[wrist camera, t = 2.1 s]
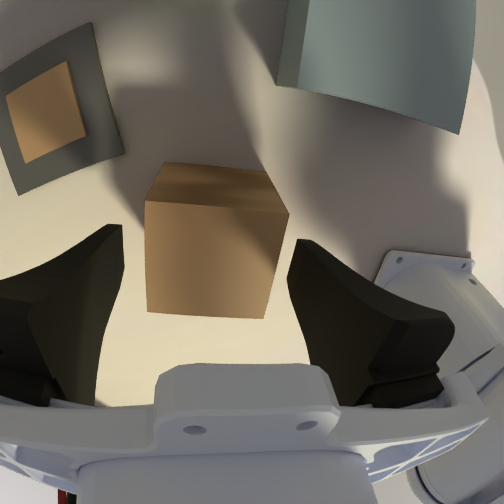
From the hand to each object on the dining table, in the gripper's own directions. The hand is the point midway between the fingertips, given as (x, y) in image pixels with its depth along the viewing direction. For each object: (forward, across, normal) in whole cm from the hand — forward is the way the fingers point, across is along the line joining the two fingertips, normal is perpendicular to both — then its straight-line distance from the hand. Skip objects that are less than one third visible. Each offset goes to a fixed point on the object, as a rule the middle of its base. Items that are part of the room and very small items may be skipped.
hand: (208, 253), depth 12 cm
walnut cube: (+4, 0, 0) cm, 4 cm away
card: (+4, +9, -5) cm, 11 cm away
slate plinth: (+4, -6, -11) cm, 13 cm away
